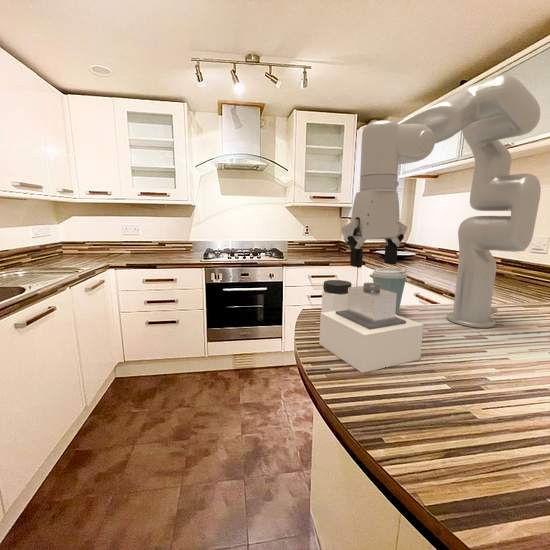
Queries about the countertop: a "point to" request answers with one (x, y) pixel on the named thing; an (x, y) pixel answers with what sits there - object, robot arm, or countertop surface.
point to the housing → (371, 303)
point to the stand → (370, 340)
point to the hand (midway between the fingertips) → (373, 265)
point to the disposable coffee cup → (391, 281)
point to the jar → (335, 295)
